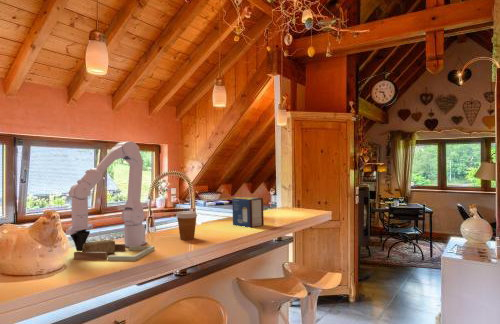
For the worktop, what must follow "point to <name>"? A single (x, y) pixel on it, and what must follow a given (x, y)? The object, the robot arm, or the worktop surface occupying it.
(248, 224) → the protein box
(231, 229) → the worktop surface
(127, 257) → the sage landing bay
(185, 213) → the disposable coffee cup
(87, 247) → the stone block
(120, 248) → the walnut chute
